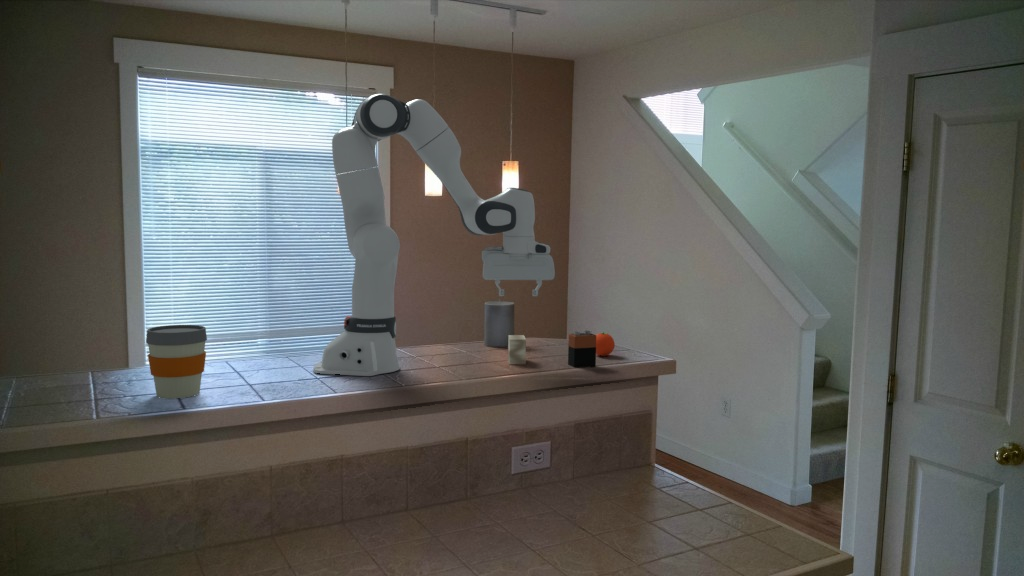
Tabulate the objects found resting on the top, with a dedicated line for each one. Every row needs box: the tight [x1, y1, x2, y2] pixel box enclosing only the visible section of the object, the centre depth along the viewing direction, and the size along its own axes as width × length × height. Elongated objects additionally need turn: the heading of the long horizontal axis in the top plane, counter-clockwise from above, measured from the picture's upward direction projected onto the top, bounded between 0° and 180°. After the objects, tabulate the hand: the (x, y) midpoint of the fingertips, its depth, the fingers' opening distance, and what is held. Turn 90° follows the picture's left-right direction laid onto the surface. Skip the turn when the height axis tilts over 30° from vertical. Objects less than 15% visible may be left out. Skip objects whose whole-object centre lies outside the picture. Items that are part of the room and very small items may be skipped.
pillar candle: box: [483, 299, 515, 348], centre depth 243 cm, size 10×10×15 cm
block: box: [507, 334, 527, 365], centre depth 214 cm, size 4×8×7 cm, turn 3°
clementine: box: [595, 331, 616, 357], centre depth 228 cm, size 8×7×7 cm
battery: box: [567, 329, 597, 368], centre depth 211 cm, size 4×7×10 cm, turn 113°
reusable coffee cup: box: [145, 324, 208, 400], centre depth 171 cm, size 13×12×15 cm
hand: (518, 296), depth 213 cm, fingers open, 8 cm apart
